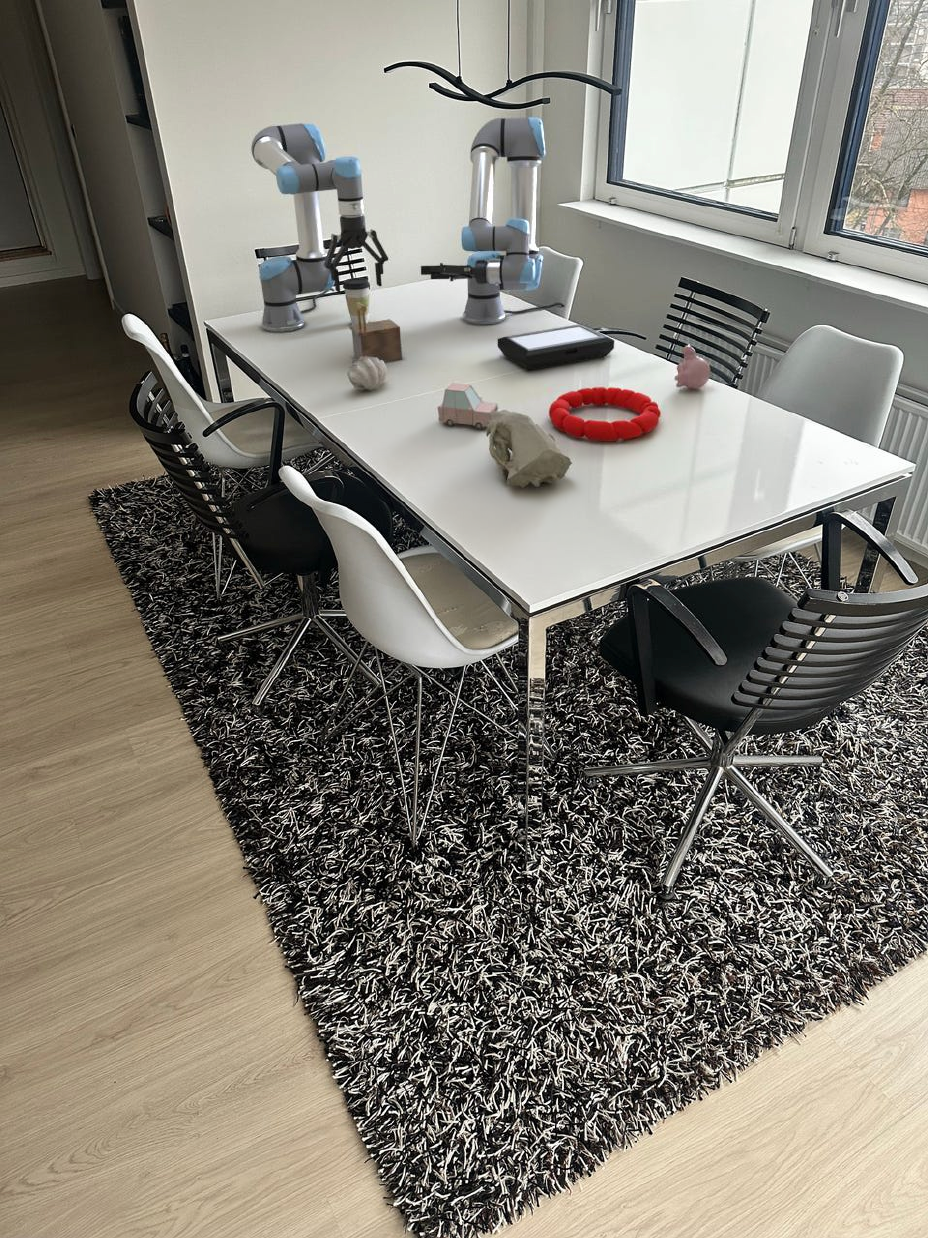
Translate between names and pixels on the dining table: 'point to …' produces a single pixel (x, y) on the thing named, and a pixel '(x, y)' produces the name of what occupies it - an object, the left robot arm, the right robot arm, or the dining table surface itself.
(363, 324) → the lid
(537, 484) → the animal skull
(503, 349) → the electronic device
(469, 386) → the toy car
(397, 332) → the chest
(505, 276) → the right robot arm
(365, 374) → the seashell
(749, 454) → the dining table surface
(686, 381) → the figurine
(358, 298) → the coffee cup
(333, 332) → the dining table surface
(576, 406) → the decorative ring
